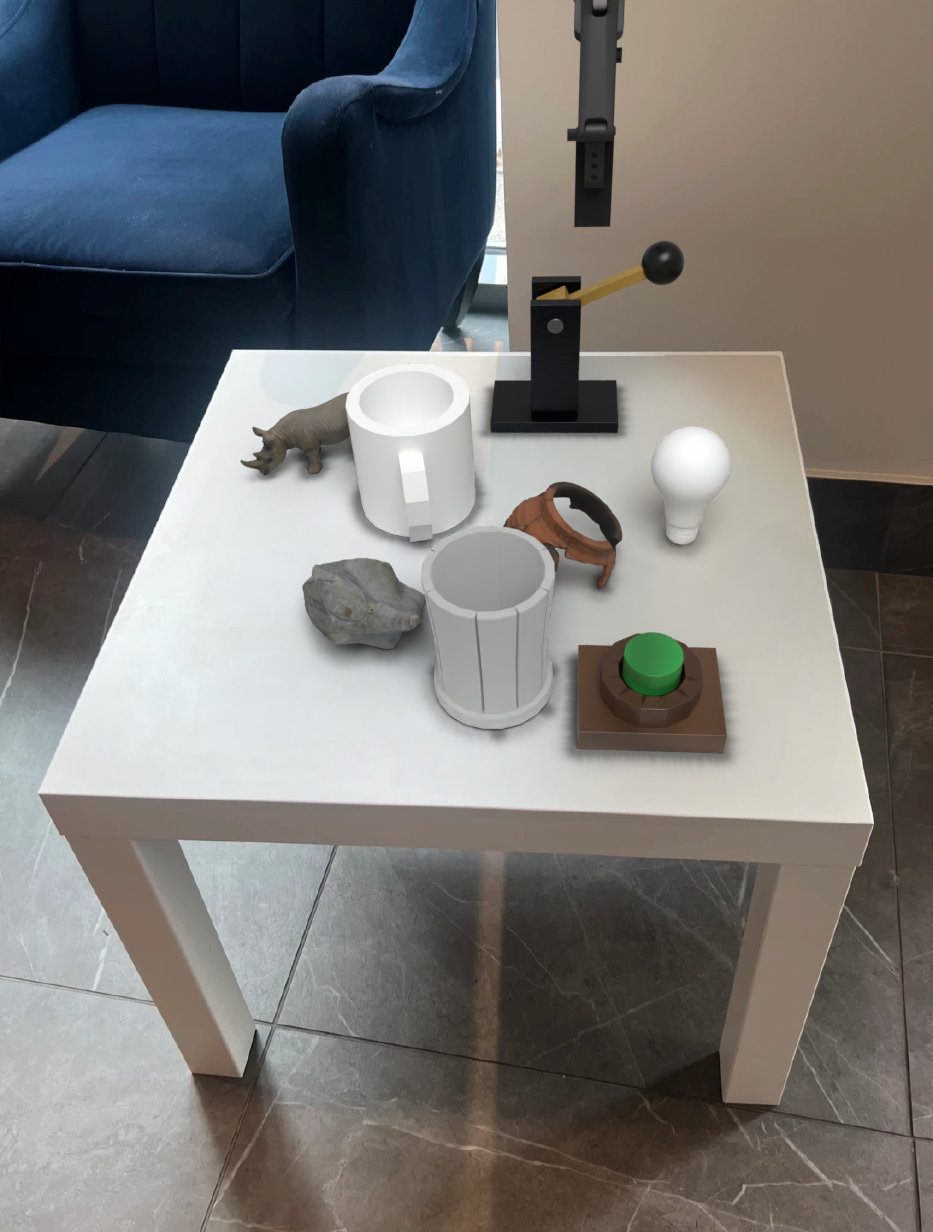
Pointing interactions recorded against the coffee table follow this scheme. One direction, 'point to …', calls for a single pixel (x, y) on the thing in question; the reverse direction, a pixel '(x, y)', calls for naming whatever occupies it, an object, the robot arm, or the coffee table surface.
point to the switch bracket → (555, 374)
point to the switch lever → (632, 274)
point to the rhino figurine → (302, 435)
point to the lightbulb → (689, 477)
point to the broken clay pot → (554, 532)
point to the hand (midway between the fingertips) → (593, 186)
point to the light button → (652, 664)
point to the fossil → (361, 602)
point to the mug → (413, 449)
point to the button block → (649, 704)
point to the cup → (490, 624)
